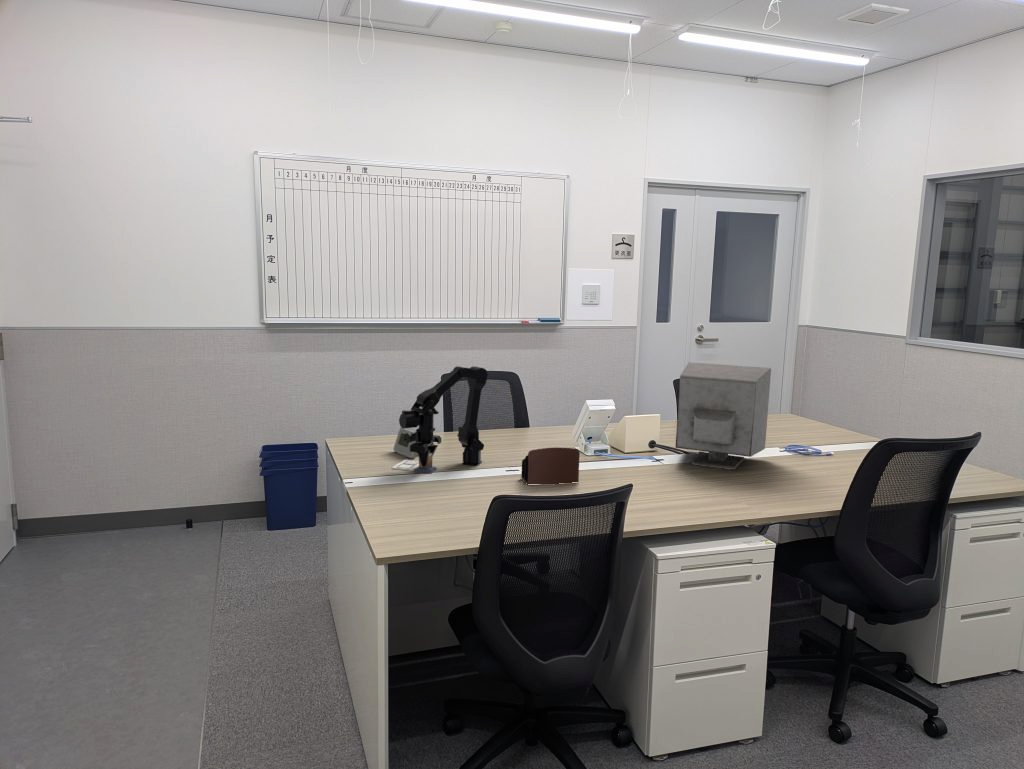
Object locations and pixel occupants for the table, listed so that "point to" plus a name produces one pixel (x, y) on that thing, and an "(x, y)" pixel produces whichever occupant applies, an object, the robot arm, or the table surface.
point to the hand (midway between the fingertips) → (425, 465)
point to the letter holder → (551, 466)
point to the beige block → (429, 462)
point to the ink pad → (425, 470)
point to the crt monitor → (722, 412)
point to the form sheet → (407, 465)
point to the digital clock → (404, 444)
